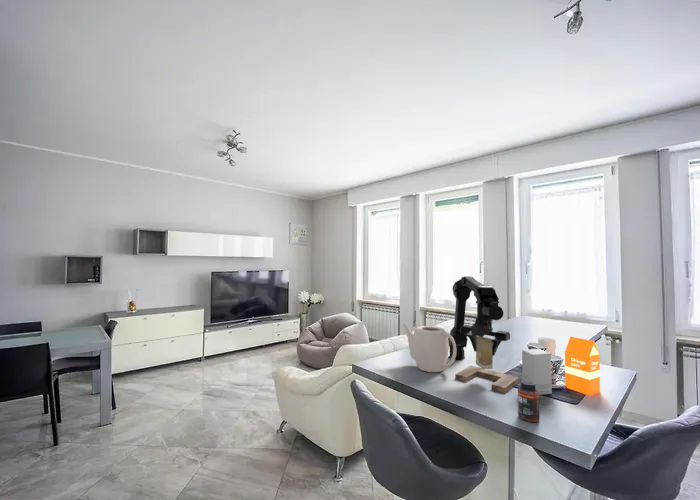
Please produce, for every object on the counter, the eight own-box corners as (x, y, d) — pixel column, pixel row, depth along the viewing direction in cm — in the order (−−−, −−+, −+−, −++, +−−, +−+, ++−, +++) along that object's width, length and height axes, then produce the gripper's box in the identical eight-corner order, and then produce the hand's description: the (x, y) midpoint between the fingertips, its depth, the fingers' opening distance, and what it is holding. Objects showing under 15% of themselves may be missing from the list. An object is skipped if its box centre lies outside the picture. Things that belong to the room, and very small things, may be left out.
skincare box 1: (475, 364, 133) (475, 335, 133) (485, 364, 133) (485, 335, 133) (483, 369, 126) (483, 339, 127) (493, 369, 127) (493, 339, 127)
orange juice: (589, 395, 118) (589, 342, 119) (564, 387, 126) (564, 337, 126) (600, 392, 121) (599, 340, 122) (575, 384, 129) (575, 335, 130)
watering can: (410, 358, 160) (410, 321, 160) (462, 370, 143) (462, 329, 144) (394, 366, 147) (394, 325, 148) (449, 380, 131) (449, 334, 131)
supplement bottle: (537, 415, 101) (536, 380, 102) (541, 424, 95) (541, 387, 96) (516, 412, 103) (516, 377, 103) (519, 421, 97) (519, 384, 98)
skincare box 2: (539, 387, 124) (539, 348, 125) (553, 394, 118) (553, 353, 119) (521, 388, 123) (521, 349, 124) (533, 395, 117) (533, 353, 117)
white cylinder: (550, 369, 146) (550, 337, 147) (558, 375, 140) (558, 341, 140) (535, 369, 147) (535, 337, 148) (543, 374, 140) (542, 340, 141)
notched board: (455, 378, 132) (455, 374, 132) (471, 370, 144) (471, 365, 144) (505, 393, 118) (505, 388, 118) (518, 382, 130) (518, 377, 130)
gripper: (454, 314, 131) (454, 352, 131) (500, 321, 118) (500, 363, 118) (465, 312, 139) (465, 347, 139) (510, 318, 126) (510, 357, 125)
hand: (484, 353), depth 130 cm, fingers closed on skincare box 1, 7 cm apart
